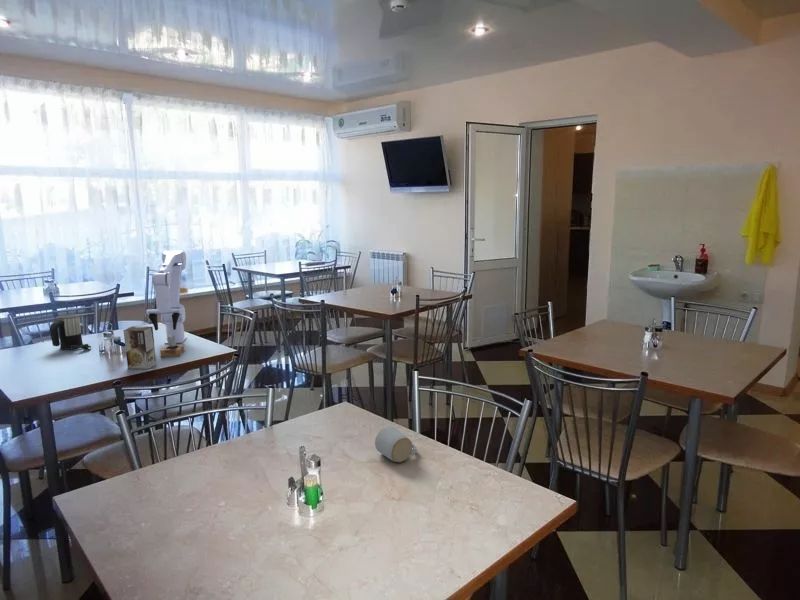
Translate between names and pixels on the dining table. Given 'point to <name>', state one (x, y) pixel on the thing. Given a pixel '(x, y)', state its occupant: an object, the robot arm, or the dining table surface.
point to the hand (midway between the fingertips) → (165, 329)
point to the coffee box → (139, 347)
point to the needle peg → (171, 342)
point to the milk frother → (67, 332)
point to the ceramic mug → (394, 444)
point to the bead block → (172, 351)
